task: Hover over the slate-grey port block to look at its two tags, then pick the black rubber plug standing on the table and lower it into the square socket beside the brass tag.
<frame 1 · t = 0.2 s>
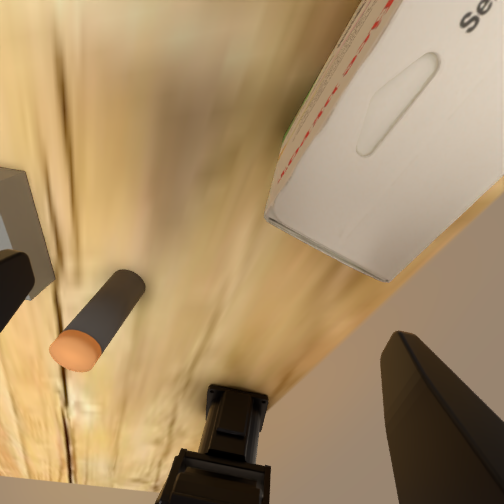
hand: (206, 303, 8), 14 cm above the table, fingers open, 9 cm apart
ink box: (356, 92, 18), on the table
plug: (128, 283, 27), on the table
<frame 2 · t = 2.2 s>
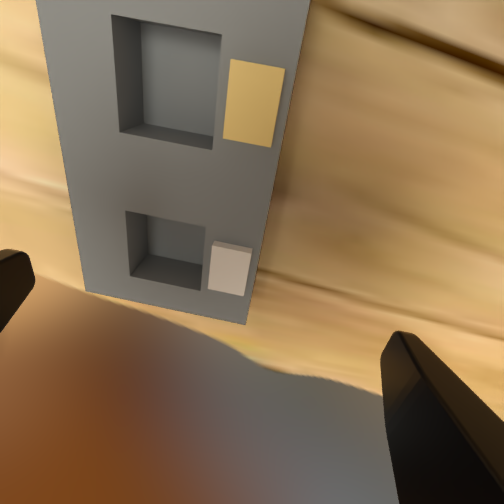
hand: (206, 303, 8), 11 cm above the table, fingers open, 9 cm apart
port block: (185, 164, 17), on the table
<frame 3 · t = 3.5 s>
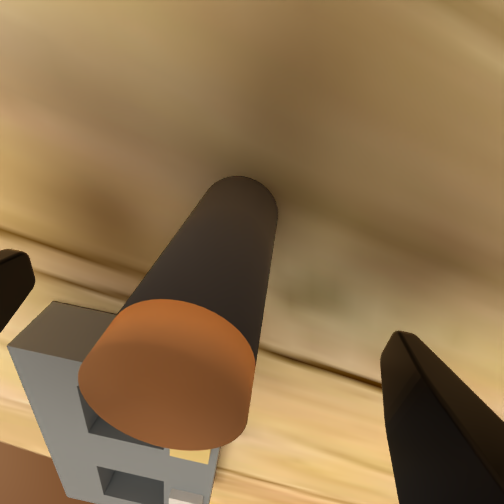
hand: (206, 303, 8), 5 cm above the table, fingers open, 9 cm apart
port block: (149, 408, 20), on the table
plug: (239, 213, 12), on the table
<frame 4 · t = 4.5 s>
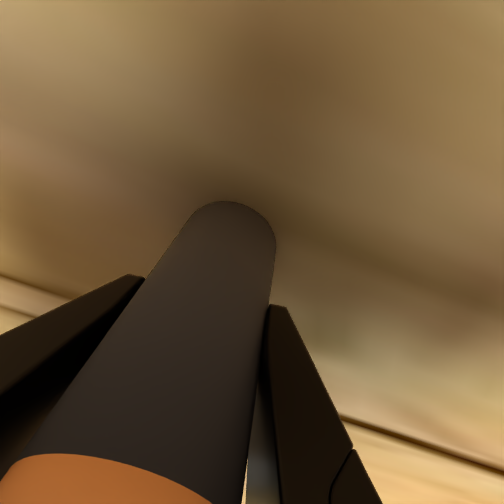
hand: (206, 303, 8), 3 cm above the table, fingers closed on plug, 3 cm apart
plug: (229, 245, 10), on the table, touching gripper
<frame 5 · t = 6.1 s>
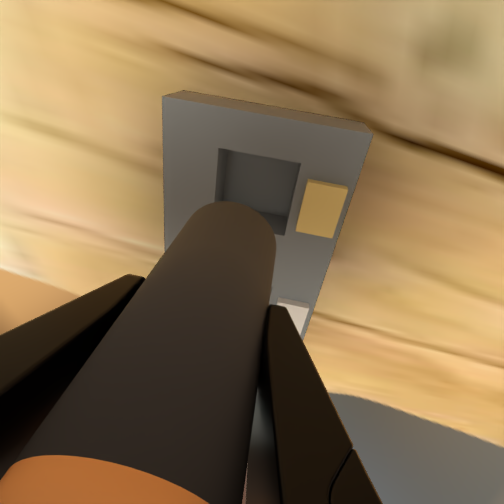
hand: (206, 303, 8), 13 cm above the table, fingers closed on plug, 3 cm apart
port block: (251, 232, 21), on the table
plug: (229, 245, 10), point 10 cm above the table, touching gripper
when the fingers open (5 cm above the table, at t = 7.7 s): plug drops 1 cm, resting on port block.
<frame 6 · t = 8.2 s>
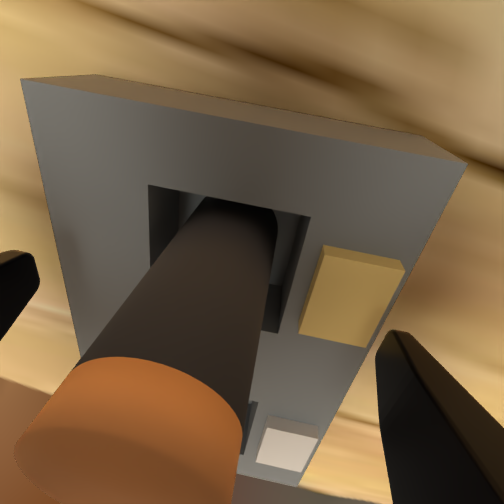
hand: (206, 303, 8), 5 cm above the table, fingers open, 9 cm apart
port block: (226, 303, 14), on the table
plug: (235, 228, 11), point 1 cm above the table, touching port block
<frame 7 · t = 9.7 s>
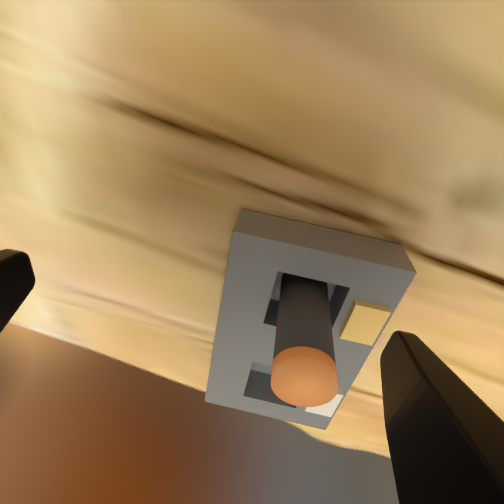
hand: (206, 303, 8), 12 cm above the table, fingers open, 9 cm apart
port block: (289, 319, 23), on the table
plug: (303, 281, 21), point 1 cm above the table, touching port block
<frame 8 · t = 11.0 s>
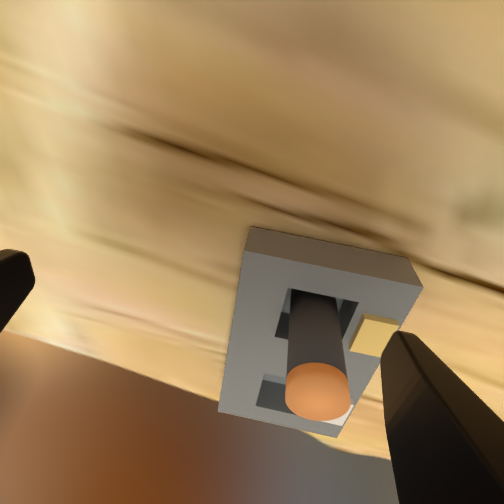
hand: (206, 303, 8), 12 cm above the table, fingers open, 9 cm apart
port block: (299, 330, 24), on the table
plug: (312, 294, 21), point 1 cm above the table, touching port block
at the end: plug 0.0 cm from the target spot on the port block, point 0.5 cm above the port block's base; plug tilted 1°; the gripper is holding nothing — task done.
